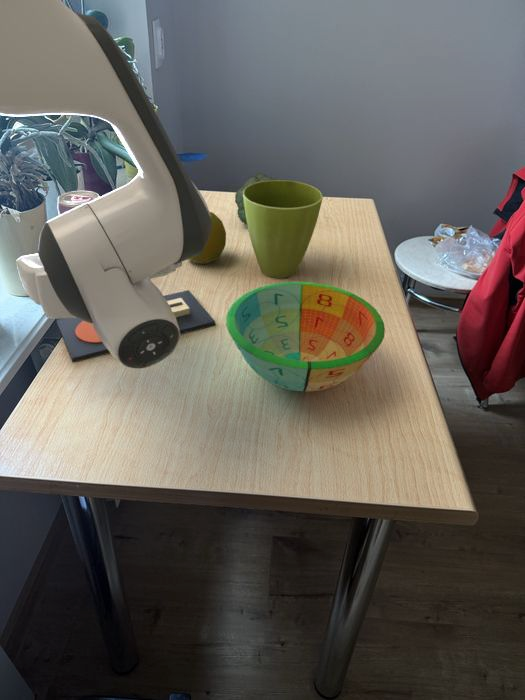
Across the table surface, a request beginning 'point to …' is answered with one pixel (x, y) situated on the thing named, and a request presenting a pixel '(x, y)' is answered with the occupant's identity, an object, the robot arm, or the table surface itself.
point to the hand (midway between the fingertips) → (85, 242)
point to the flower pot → (281, 223)
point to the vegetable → (239, 194)
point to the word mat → (88, 344)
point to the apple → (213, 242)
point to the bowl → (304, 333)
